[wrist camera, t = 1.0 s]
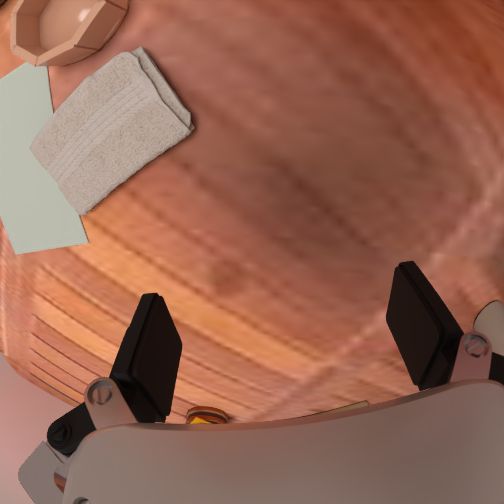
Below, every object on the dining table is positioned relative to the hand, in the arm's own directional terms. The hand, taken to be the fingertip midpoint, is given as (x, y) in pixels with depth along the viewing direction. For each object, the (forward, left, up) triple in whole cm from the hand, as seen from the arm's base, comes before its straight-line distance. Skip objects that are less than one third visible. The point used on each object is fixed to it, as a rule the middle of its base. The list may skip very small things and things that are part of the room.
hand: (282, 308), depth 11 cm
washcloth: (-7, -16, -22) cm, 28 cm away
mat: (-7, -31, -22) cm, 38 cm away
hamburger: (+50, -16, -22) cm, 57 cm away
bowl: (-23, -18, -22) cm, 36 cm away
